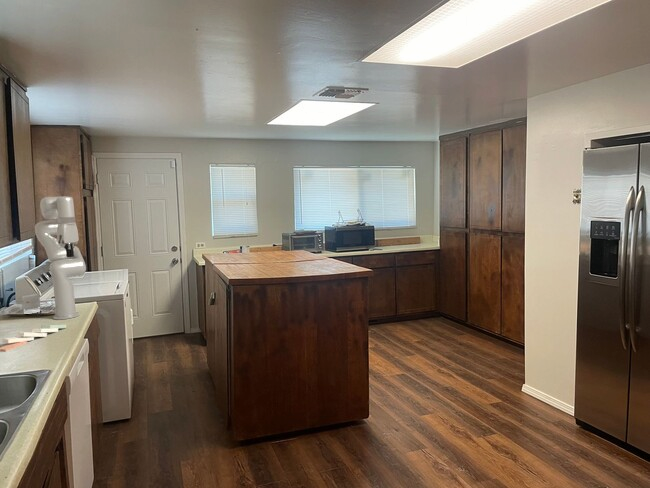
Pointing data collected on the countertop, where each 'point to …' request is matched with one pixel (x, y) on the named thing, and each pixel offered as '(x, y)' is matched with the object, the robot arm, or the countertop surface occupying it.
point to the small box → (30, 301)
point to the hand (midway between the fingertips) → (70, 256)
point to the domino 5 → (52, 326)
